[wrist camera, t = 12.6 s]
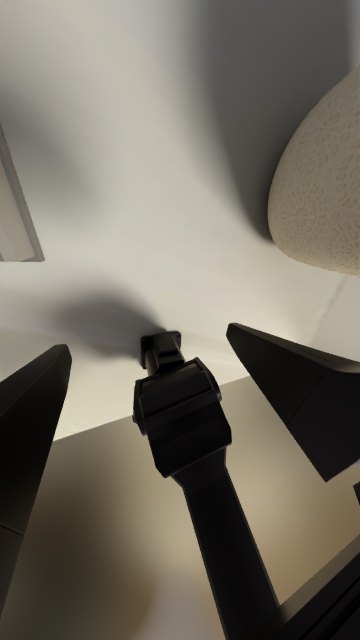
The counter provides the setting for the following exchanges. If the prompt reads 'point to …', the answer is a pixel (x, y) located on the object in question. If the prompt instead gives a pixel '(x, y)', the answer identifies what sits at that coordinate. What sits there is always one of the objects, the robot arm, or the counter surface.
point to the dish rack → (15, 216)
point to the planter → (322, 184)
